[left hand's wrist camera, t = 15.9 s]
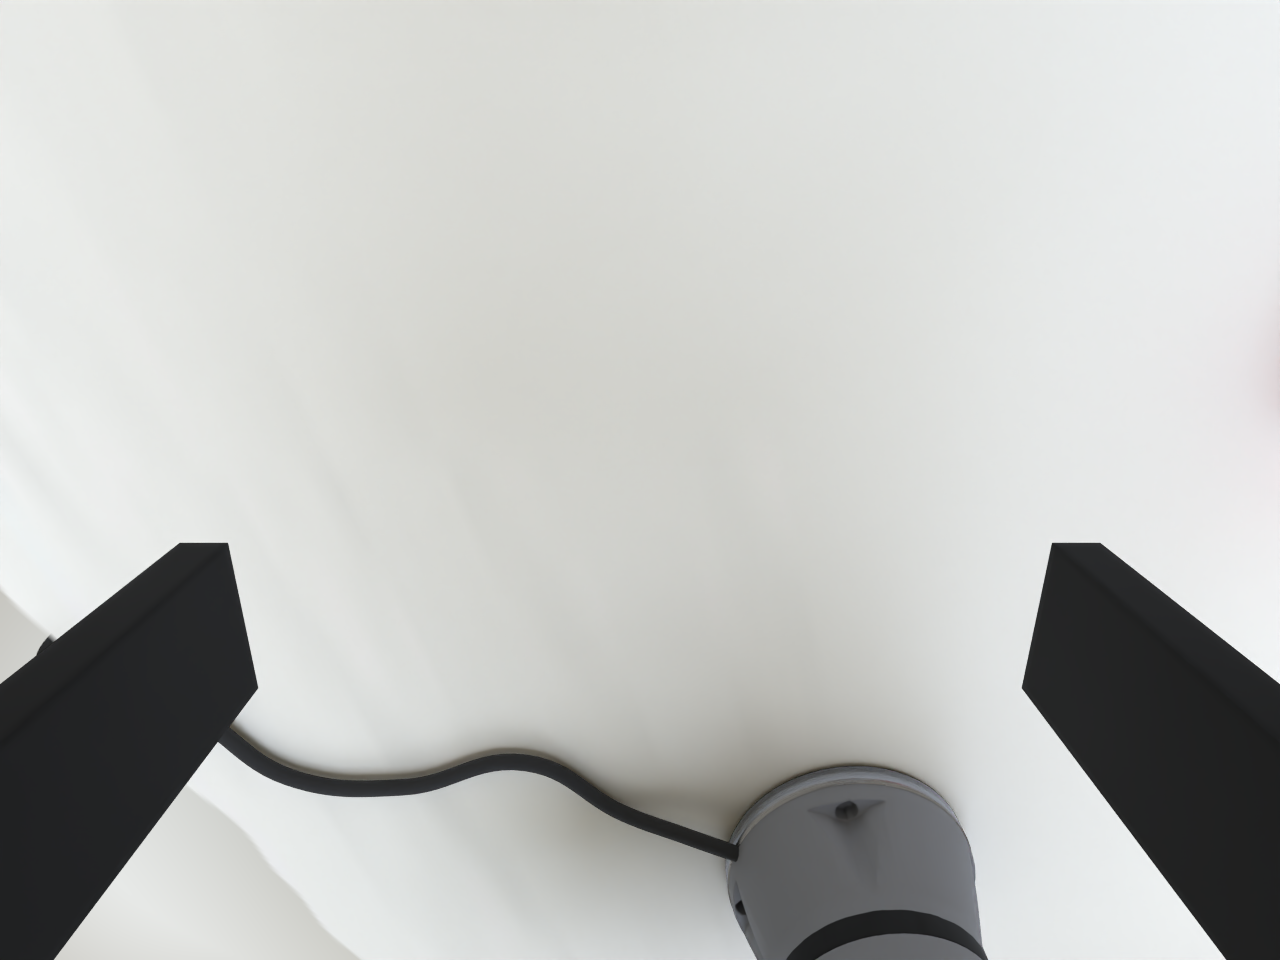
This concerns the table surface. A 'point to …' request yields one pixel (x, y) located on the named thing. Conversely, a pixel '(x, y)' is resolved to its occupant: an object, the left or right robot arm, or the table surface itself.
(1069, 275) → the table surface
